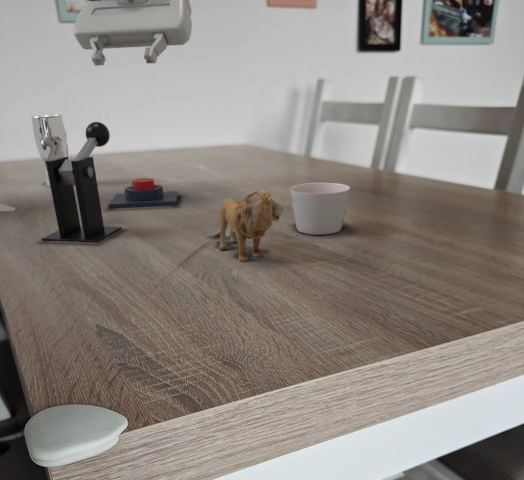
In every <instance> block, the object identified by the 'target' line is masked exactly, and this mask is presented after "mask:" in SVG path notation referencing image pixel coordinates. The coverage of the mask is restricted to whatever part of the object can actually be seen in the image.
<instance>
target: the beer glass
mask: <svg viewBox="0 0 524 480" xmlns="http://www.w3.org/2000/svg"><path fill="white" fill-rule="evenodd" d="M31 122H32V123H31V124H32V131H33V136H34V141H35V145H36V148H37V152H38V154H39V156H40V159H41V162H42V164H43V168H44V171H45V186H46V187H47V188H51V187H50V182H49V177H48V171H47V166H46V161H48V160H52V159H56V158H60V157H68V158H69V141H68V134H67V129H66V125H65V121H64V117H63V114H39V115H32V116H31Z"/></svg>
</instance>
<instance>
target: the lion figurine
mask: <svg viewBox="0 0 524 480" xmlns="http://www.w3.org/2000/svg"><path fill="white" fill-rule="evenodd" d="M283 211H284V207H283V206H282V205H280V204H278V203H277V202H276V200H274V199H273V198H272V197H271V191H269V190H266V189H264V190H260V189H259V190H256V191H254V192H252V193H250V194H247V196H246V197H244V198H242V199H240V201H239V200H237V199H235V198H227V199H226V200H224V201H222V203H221V205H220V207H219V213H218V214H219V215H218V218H219V219H218V220H219V227H220V231H219V232H217V233H216V234H215V235H213V238H215V239H219V238H220V239H219V241H220V243H219V247H218V250H221V251H225V250H227V249H228V245H227V242H226V240H227V230H228V226H229V229H230V233H229V240H230V242H231V243H237V249H238V261H239V262H247V261H248V260H249V258H248V253H247V250H246V241H247V239H248V240H252V247H251V253H252V255H253V256H254V257H256V258H262V257H263V256H264V252H263V251H260V243H261V238H263V237H264V236H265V233H266V232H267V231H268V230H270V229H271V227H272V226H273V221H274V222H276V223H277V222H279V221H280V217H281V216H282V214H283Z"/></svg>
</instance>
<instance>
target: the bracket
mask: <svg viewBox="0 0 524 480" xmlns="http://www.w3.org/2000/svg"><path fill="white" fill-rule="evenodd" d="M66 159H69V156H68V157H60V158H56V159H52V160H48V161H46V166H47V171H48V177H49V182H50V187H49V188H50V192H51V196H52V203H53V206H54V207H53V208H54V212H55V217H56V222H57V228H58V230H57V231H55V232H53V233H50V234H48V235H46V236H43V237H42V238H41V241H44V242H66V243H67V242H71V243H94V244H95V243H100V242H101V241H103V240H105V239H106V238H108V237H110V236H112V235H114V234H115V233H117V232H119V231H121V230H122V229H123V227H122V226H109V225H108V226H105V225H104V224H105V223H104V218H103V213H102V206H101V199H100V193H99V187H98V179H97V175H96V168H95V161H94V157H93V156H89V157H85V158H81V159H77V160H74V161H71V164H72V169H73V175H74V181H75V185H65V184H64V182H63V180H62V178H61V176H60V174H59V172H58V170H59V168H60V167H61V165H62V164H63V163H64V161H65V160H66ZM74 186H75V188H74ZM75 191H76V192H75ZM75 193H76V194H75ZM76 197H77V199H76ZM77 202H78V204H77ZM78 209H79V210H78ZM79 214H80V216H79ZM80 219H81V221H80ZM80 222H81V223H80Z"/></svg>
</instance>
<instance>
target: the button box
mask: <svg viewBox="0 0 524 480" xmlns="http://www.w3.org/2000/svg"><path fill="white" fill-rule="evenodd" d="M154 187H155V188H153V189H147V190H133V186H132V185H130V186H126V187H125V188H124V193H123V192H122V193H116V194H115V195H114V196H113V198H112V199H111V201H109V203H108V209H109V210H112V209H113V210H114V209H135V208H153V207H154V208H155V207H156V208H157V207H177V203H178V199H179V195H180V193H179V191H178V190H171V191H170V190H169V191H164V187H163V185H161V184H155V183H154Z"/></svg>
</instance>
